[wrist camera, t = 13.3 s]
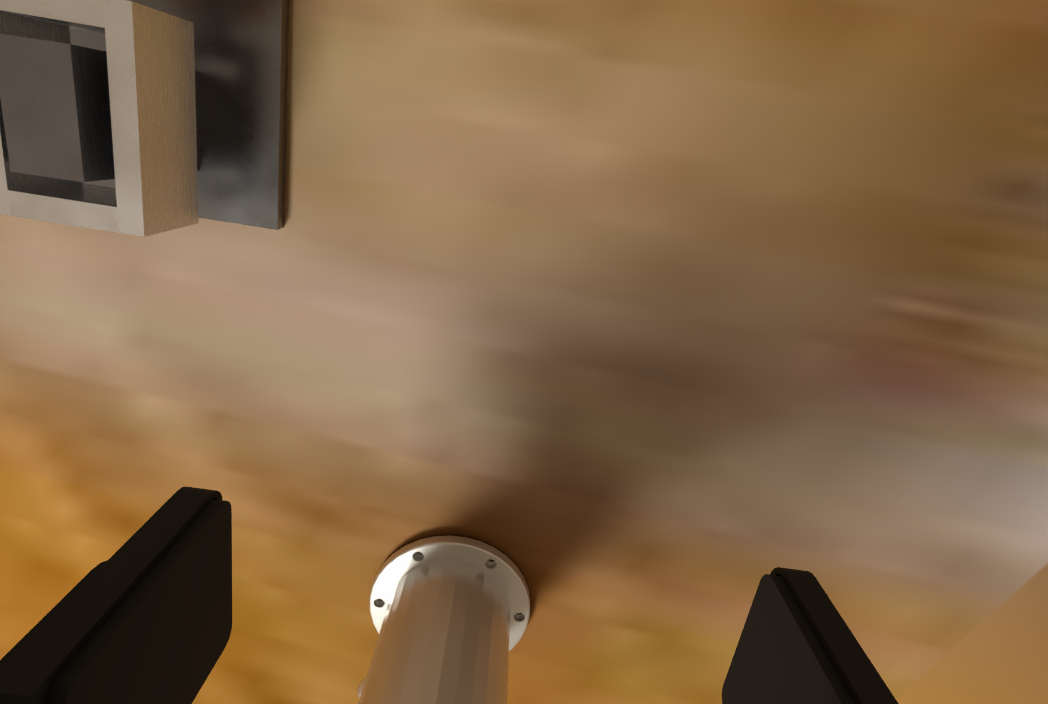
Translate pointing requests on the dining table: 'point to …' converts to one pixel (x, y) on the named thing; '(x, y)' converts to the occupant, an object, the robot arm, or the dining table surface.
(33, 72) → the grey block
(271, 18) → the grey boxy fixture
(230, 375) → the dining table surface
